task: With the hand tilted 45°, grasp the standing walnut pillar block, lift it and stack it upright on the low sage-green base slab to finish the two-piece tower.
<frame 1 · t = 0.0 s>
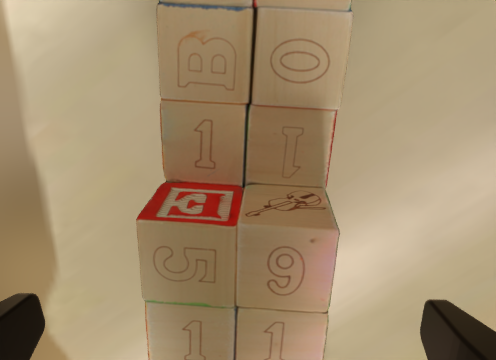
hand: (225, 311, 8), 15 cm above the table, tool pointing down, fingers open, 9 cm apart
stack of blocks: (253, 154, 23), on the table
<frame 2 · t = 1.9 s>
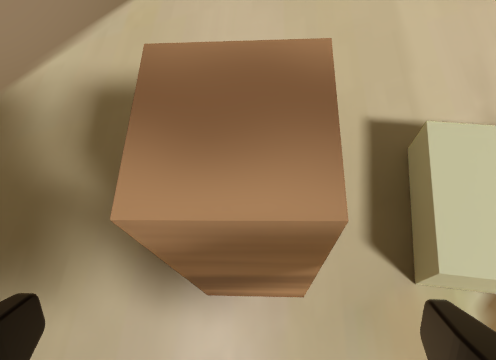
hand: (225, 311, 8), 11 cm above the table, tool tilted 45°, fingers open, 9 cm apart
pillar: (256, 248, 20), on the table
base slab: (487, 218, 20), on the table
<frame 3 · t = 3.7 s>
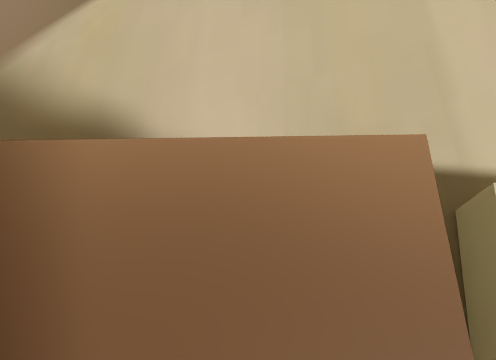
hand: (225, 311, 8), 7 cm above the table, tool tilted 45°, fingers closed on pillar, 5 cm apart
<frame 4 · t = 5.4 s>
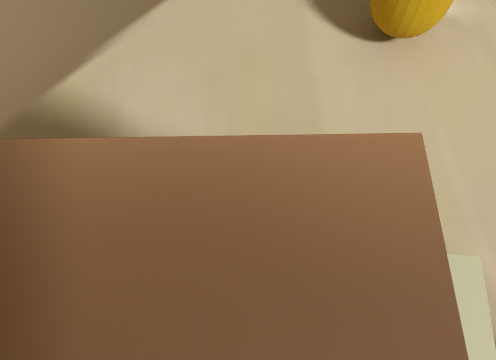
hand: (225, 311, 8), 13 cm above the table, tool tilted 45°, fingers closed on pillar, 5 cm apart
lemon: (394, 35, 29), on the table
base slab: (387, 333, 20), on the table
when the fingers open (11 cm above the table, at t = 6.9 s): pillar drops 1 cm, resting on base slab.
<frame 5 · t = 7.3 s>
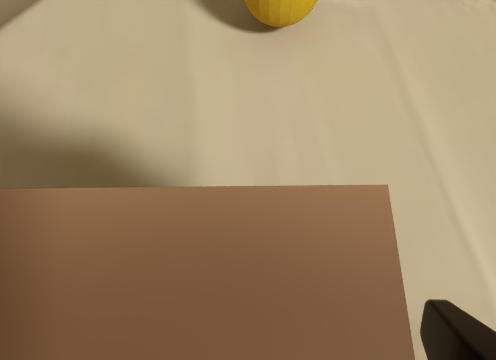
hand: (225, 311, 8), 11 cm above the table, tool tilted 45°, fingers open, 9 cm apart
lemon: (279, 25, 27), on the table
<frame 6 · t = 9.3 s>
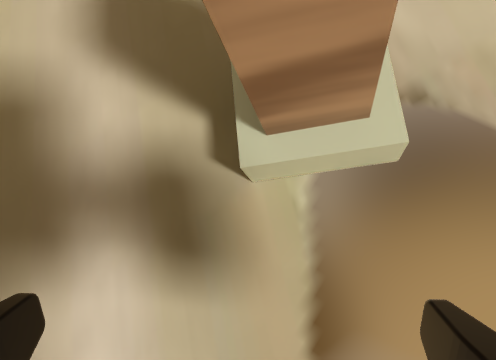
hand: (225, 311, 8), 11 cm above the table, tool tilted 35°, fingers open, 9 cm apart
pillar: (309, 81, 18), point 3 cm above the table, touching base slab
base slab: (312, 107, 21), on the table
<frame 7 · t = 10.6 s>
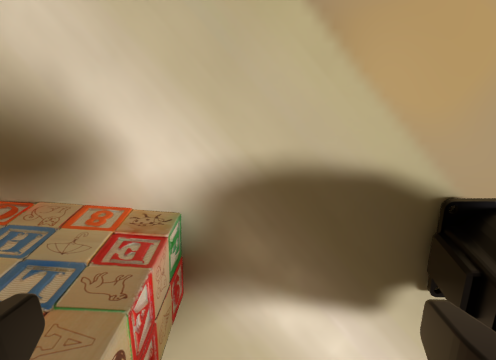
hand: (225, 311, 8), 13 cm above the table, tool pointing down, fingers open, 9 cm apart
stack of blocks: (26, 241, 24), on the table
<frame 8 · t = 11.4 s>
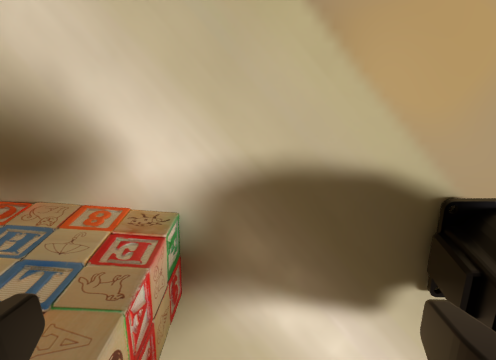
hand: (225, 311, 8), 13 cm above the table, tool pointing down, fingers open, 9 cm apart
stack of blocks: (25, 241, 24), on the table
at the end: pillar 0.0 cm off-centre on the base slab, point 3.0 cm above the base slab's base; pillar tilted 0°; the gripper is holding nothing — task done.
